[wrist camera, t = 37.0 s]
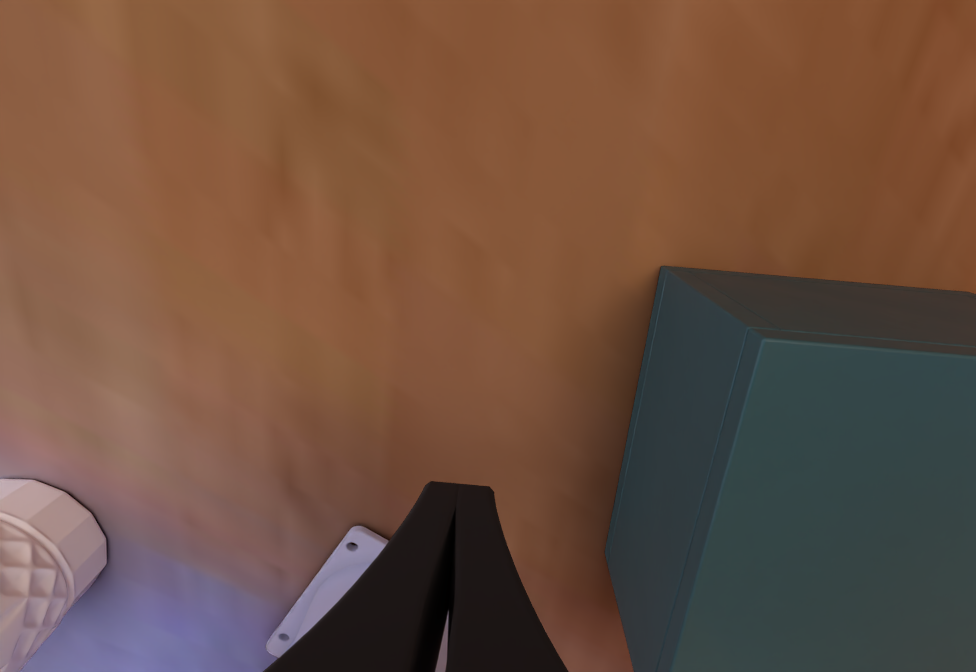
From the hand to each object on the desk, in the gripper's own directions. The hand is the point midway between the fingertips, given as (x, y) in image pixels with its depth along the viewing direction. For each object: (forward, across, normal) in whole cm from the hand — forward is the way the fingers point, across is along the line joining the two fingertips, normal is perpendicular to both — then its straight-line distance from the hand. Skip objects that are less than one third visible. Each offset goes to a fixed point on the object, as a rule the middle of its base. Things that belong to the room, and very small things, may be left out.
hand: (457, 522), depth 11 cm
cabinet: (+10, -12, +3) cm, 16 cm away
